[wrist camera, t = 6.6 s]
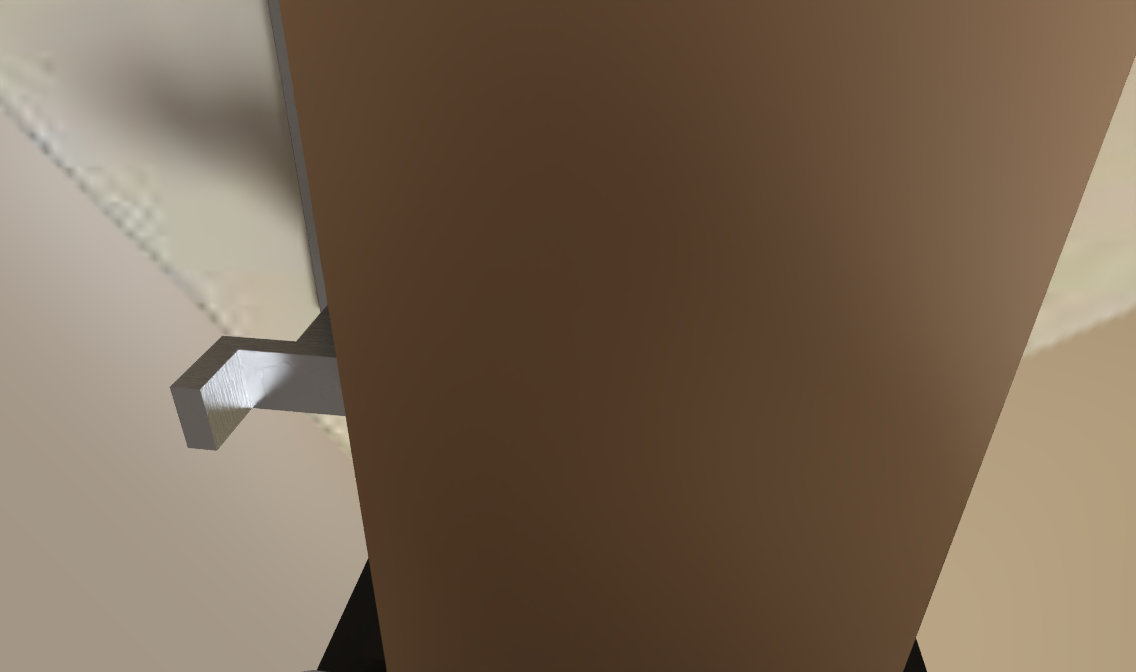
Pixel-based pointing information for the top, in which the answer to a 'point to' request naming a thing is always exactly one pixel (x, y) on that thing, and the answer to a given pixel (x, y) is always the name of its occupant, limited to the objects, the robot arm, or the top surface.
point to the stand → (264, 341)
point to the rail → (683, 307)
